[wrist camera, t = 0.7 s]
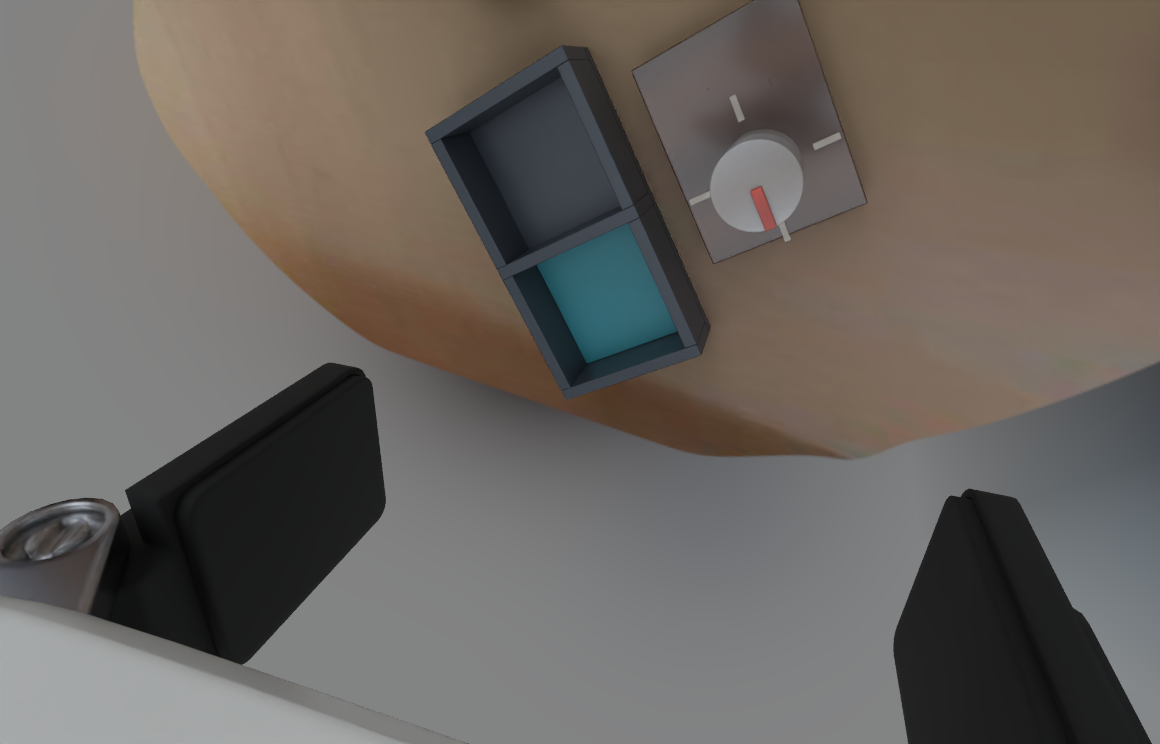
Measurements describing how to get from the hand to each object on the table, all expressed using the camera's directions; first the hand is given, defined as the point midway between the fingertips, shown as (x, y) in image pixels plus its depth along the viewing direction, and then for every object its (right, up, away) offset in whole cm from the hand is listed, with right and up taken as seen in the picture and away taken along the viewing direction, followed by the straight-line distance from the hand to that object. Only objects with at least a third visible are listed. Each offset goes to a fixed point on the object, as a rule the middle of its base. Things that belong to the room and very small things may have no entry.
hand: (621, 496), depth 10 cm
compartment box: (0, +12, +33) cm, 35 cm away
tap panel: (+9, +16, +27) cm, 33 cm away
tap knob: (+9, +13, +25) cm, 30 cm away
